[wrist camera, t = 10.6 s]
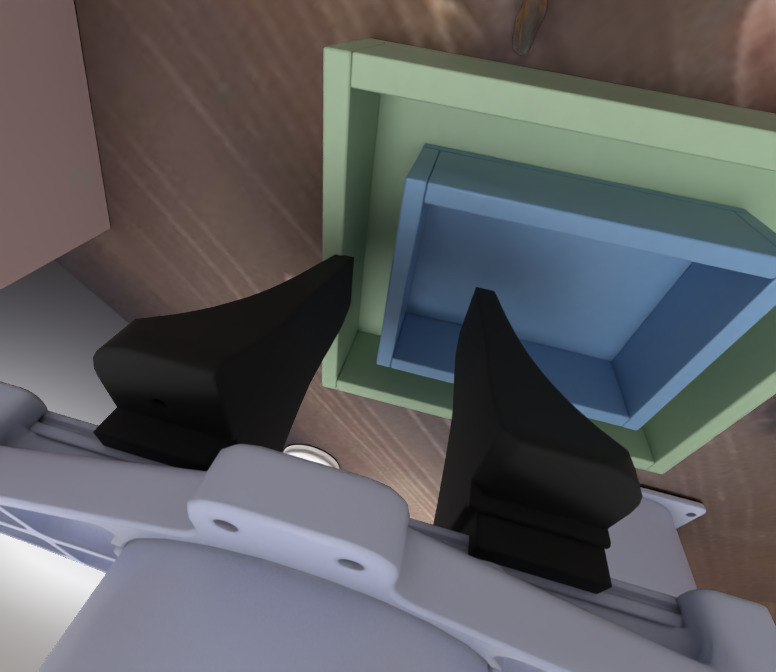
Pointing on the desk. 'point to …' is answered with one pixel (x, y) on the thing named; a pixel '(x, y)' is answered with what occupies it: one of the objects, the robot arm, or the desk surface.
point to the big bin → (544, 149)
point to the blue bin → (573, 278)
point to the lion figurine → (528, 24)
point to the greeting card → (45, 139)
